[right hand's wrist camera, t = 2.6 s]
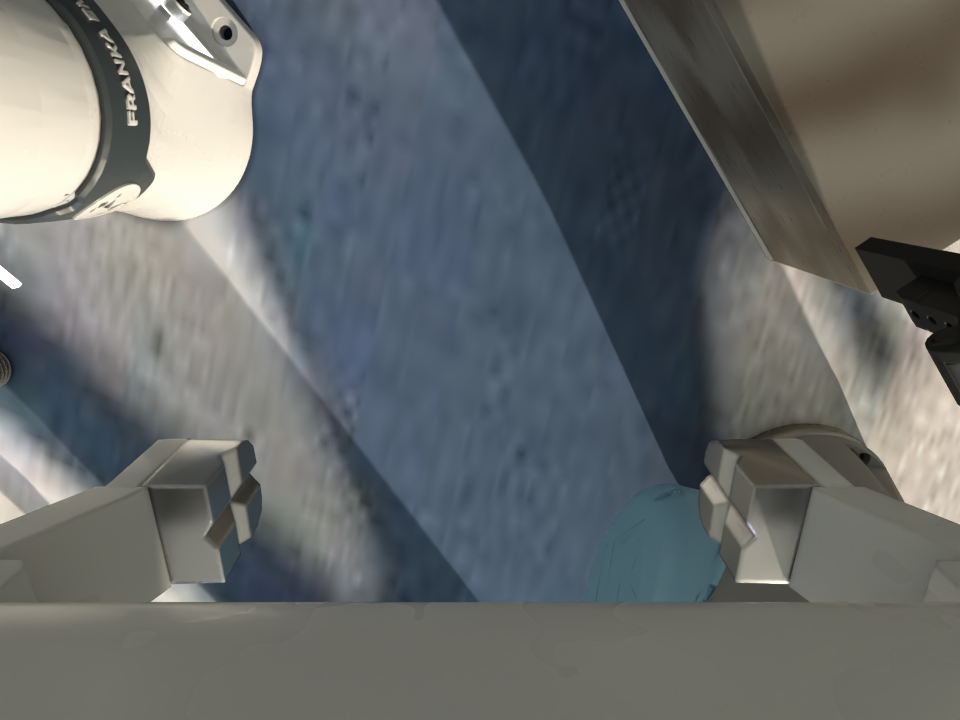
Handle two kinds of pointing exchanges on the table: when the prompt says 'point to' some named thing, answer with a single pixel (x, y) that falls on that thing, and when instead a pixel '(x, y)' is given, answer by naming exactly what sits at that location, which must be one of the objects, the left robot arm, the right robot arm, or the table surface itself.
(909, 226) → the cabinet
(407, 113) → the table surface
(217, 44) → the right robot arm
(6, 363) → the light bulb
